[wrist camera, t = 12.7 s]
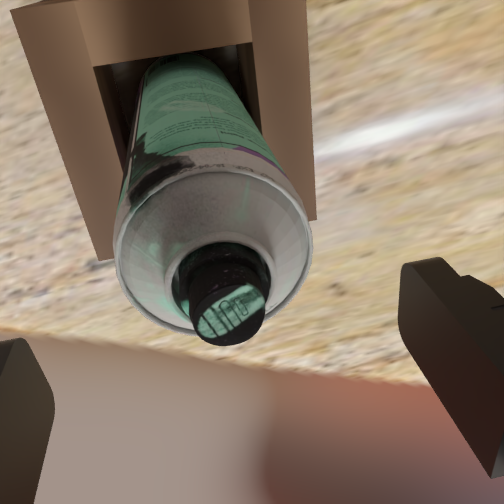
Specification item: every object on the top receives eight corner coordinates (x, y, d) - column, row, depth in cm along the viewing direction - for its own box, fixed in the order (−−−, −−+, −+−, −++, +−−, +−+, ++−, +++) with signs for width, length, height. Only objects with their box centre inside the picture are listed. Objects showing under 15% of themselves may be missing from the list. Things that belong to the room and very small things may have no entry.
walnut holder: (274, -33, 24) (304, -33, 19) (290, 178, 31) (316, 219, 26) (41, 1, 23) (9, 10, 18) (109, 211, 30) (99, 261, 25)
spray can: (121, 119, 27) (60, 370, 10) (163, 30, 25) (172, 159, 8) (204, 161, 29) (266, 425, 12) (249, 82, 27) (395, 269, 10)
